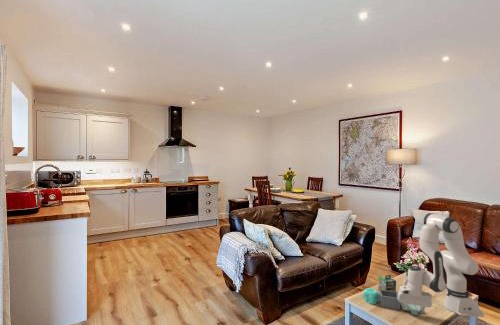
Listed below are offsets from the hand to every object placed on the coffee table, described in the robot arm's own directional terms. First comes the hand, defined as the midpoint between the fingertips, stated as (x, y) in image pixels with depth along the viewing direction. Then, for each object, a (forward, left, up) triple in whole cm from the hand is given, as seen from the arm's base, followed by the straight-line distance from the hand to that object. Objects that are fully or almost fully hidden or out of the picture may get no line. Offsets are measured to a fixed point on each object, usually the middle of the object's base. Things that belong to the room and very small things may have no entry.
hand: (413, 310), depth 186 cm
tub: (+14, -7, -2) cm, 16 cm away
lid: (0, -5, -2) cm, 6 cm away
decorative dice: (+26, -8, -3) cm, 27 cm away
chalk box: (+12, -25, -3) cm, 28 cm away
